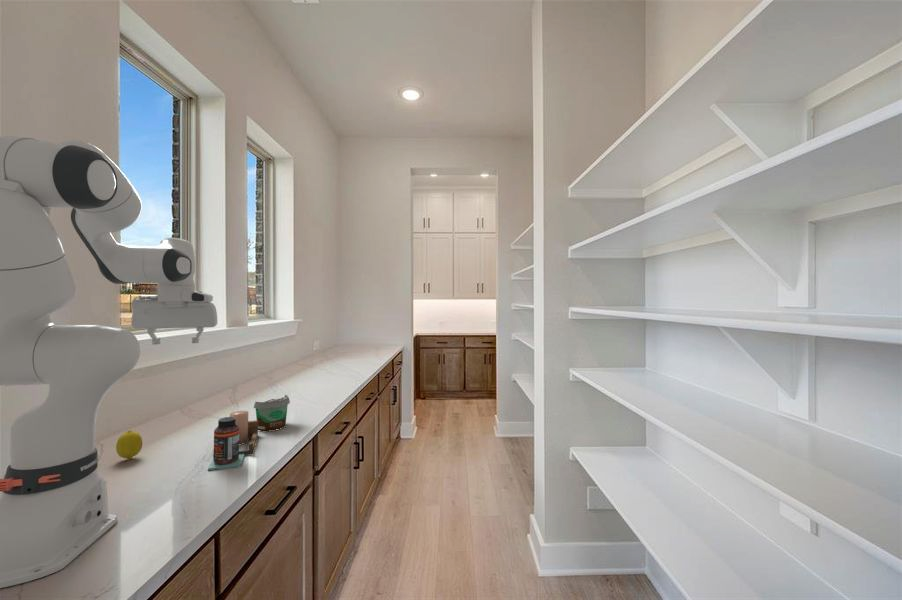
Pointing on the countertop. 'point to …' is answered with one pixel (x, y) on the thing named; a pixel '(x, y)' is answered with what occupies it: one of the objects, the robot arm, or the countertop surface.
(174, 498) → the countertop surface
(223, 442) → the supplement bottle
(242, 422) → the peach capsule
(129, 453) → the lemon
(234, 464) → the coaster
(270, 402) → the food container
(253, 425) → the rack
